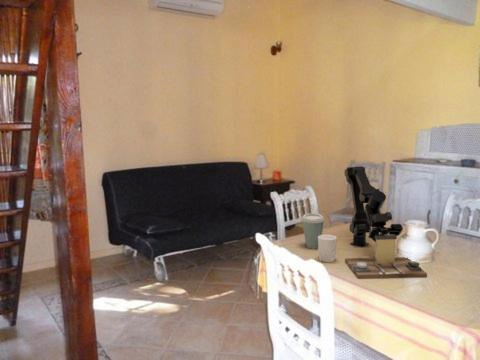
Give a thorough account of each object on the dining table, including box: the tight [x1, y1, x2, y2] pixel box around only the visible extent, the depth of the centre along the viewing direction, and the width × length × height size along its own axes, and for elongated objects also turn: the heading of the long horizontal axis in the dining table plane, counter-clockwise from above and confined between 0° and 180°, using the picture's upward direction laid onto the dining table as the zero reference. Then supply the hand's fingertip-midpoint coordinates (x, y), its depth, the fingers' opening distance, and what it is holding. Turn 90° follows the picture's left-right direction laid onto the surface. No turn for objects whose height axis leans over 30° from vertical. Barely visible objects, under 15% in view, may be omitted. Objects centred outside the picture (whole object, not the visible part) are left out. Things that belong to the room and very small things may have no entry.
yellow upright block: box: [374, 233, 398, 268], centre depth 156 cm, size 4×8×13 cm, turn 90°
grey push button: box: [357, 262, 367, 269], centre depth 154 cm, size 4×4×1 cm
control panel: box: [344, 256, 428, 280], centre depth 158 cm, size 18×26×2 cm
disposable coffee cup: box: [301, 212, 325, 249], centre depth 188 cm, size 11×11×15 cm
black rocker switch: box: [408, 261, 420, 267], centre depth 154 cm, size 4×3×1 cm
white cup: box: [317, 234, 338, 263], centre depth 170 cm, size 8×8×10 cm
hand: (382, 248), depth 159 cm, fingers closed
